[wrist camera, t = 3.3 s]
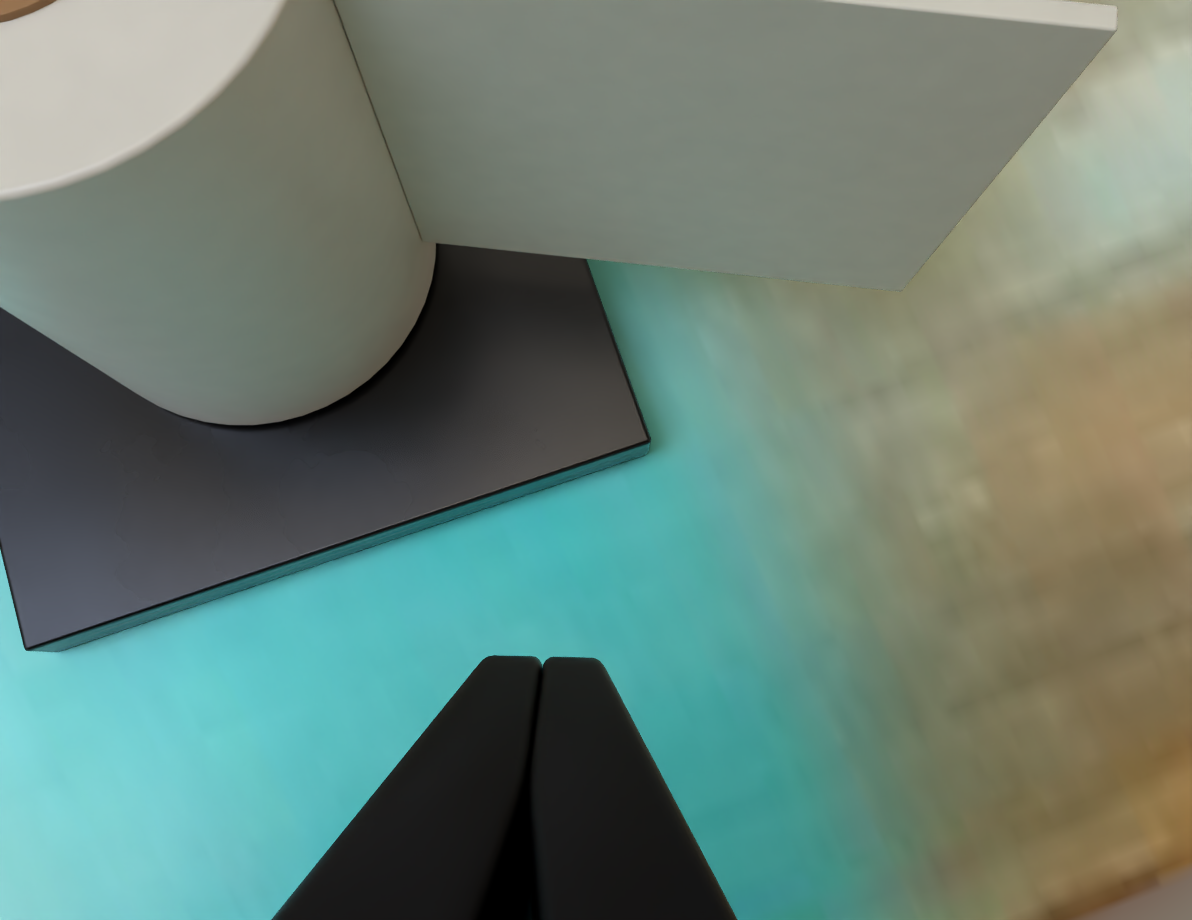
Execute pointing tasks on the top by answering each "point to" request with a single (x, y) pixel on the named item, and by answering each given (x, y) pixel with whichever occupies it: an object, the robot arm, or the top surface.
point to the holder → (301, 452)
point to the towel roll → (475, 160)
